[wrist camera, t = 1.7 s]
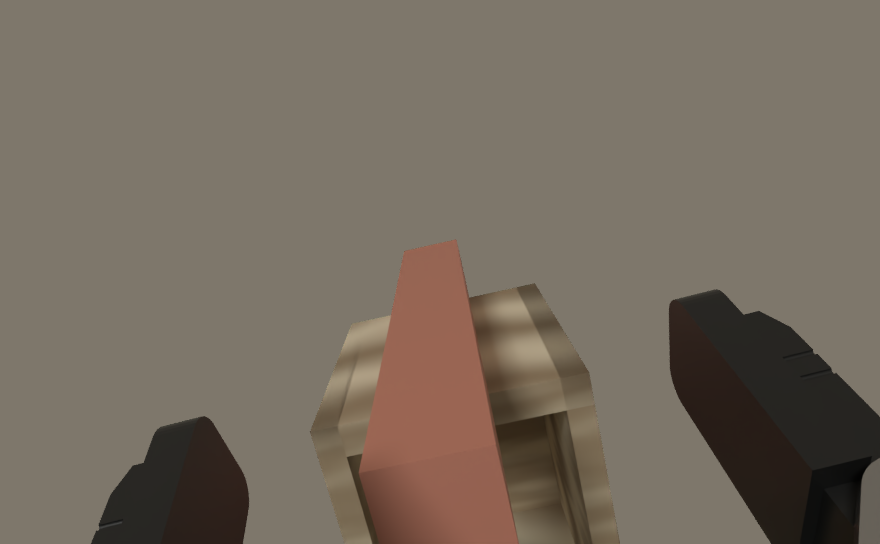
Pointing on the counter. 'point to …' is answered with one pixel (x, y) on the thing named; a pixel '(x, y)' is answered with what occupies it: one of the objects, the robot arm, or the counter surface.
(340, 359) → the shelf stand
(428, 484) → the bar
